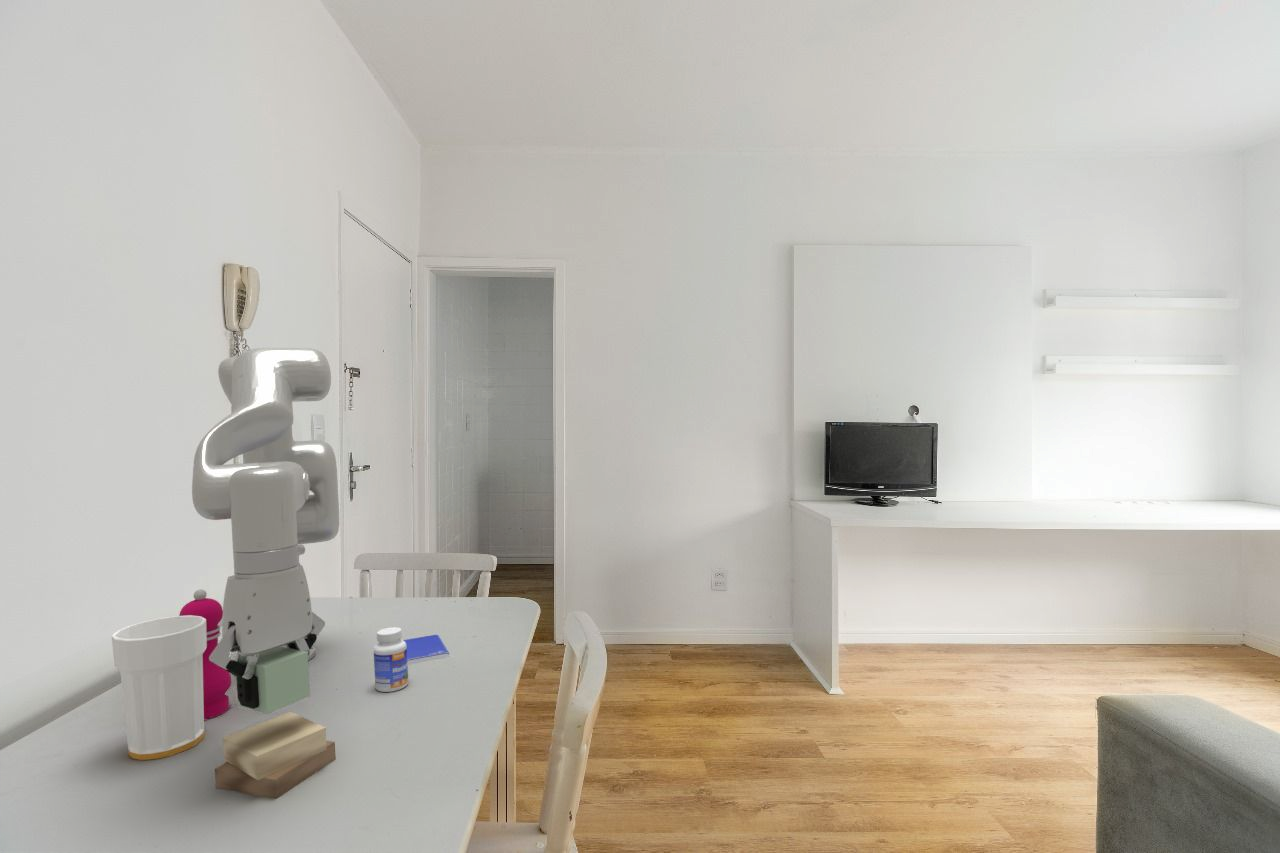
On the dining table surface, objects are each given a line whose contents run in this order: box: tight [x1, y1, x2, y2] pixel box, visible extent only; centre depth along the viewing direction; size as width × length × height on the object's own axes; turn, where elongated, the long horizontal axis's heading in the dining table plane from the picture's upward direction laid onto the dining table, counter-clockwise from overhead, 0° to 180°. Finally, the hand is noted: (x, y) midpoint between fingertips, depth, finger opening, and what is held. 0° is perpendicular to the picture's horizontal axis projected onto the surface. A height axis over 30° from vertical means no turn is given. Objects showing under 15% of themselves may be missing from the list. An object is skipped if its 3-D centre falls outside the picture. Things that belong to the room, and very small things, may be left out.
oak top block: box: [222, 711, 327, 780], centre depth 93 cm, size 9×9×3 cm
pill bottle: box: [373, 626, 409, 693], centre depth 121 cm, size 5×5×10 cm
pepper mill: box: [178, 589, 232, 720], centre depth 113 cm, size 7×7×20 cm
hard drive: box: [402, 634, 450, 666], centre depth 138 cm, size 2×8×12 cm
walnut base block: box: [214, 740, 337, 800], centre depth 93 cm, size 10×10×3 cm
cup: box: [111, 615, 207, 761], centre depth 102 cm, size 11×11×17 cm
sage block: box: [238, 646, 311, 715], centre depth 92 cm, size 6×6×6 cm
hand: (274, 694), depth 93 cm, fingers closed on sage block, 6 cm apart
